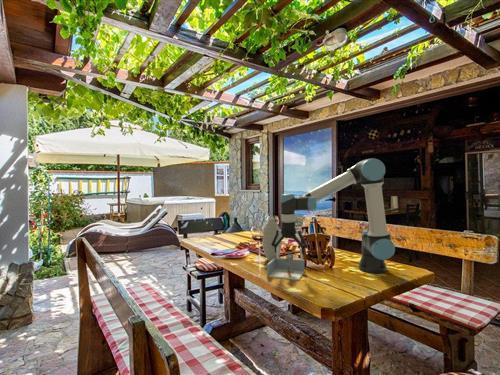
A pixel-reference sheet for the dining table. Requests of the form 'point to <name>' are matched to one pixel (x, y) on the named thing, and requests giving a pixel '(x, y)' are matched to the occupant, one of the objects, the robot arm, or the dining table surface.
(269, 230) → the vase
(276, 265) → the tray
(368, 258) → the robot arm
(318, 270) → the dining table surface
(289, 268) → the mechanical component
